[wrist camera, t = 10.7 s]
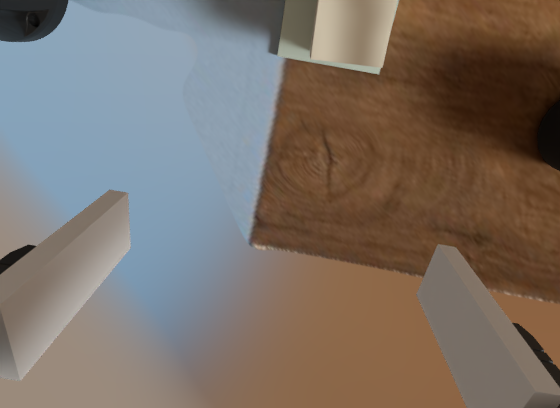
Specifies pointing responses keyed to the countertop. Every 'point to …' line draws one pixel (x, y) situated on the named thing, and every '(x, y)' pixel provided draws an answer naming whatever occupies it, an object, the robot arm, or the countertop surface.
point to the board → (306, 34)
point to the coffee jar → (550, 137)
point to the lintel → (352, 31)
